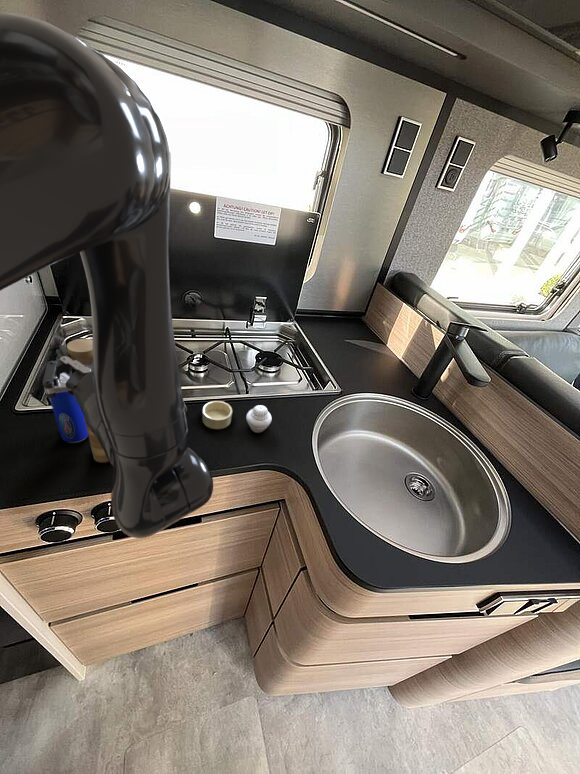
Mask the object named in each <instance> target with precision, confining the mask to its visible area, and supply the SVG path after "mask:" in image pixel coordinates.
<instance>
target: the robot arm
mask: <svg viewBox="0 0 580 774" xmlns="http://www.w3.org/2000/svg"><path fill="white" fill-rule="evenodd" d="M171 174H172V151H171V146H170V139H169V136H168V133H167V130H166V126H165V124H164V121H163V119H162V117H161V115H160V113H159V111H158V108H157V107H156V105H155V103H154V102H153V100H152V99H151V97H150V96H149V95H148V93H147V92H146V90H145V89H144V88H143V86H142V85H141V83H139V82H138V81H137V80H136V79H135V78H134V77H133V76H132V75H131V74H130V73H129V72H128V71H127V70H126V69H124V67H122V66H121V65H119V64H117V63H116V61H114V60H112V59H111V58H109V57H108V56H107V55H105V54H104V53H102V52H100V51H97V50H95V48H92V47H91V46H90V45H88V44H86V43H85V42H82V41H81V40H80V39H78V37H76V36H74V35H72V34H71V33H68V32H66V31H65V30H63V29H61V28H59V27H57V26H55V25H53V24H51V23H50V22H48V21H45V20H42V19H39V18H35V17H32V16H28V15H25V14H21V13H17V12H12V11H11V12H10V11H8V12H7V11H5V12H4V11H3V12H2V11H1V12H0V291H2V290H5V289H6V288H8V287H10V286H12V285H14V284H16V283H18V282H20V281H22V280H24V279H26V278H27V277H30V276H32V275H34V274H35V273H38V272H39V271H41V270H44V269H46V268H48V267H50V266H52V265H54V264H57V263H59V262H61V261H63V260H66V259H68V258H70V257H72V256H75V255H76V254H80V257H81V261H82V264H83V265H82V266H83V268H84V273H85V278H86V281H87V287H88V293H89V300H90V310H91V327H92V328H91V330H92V333H91V334H92V339H91V340H93V364H92V365H83V364H81V363H80V362H78V361H77V360H72V359H71V358H70V355H69V353H68V350H67V346H65V344H61V345H59V346H58V347H59V348H57V349H56V350H55V354H56V356H57V360H49V361H48V362H46V366H45V371H44V374H43V378H42V381H41V383H42V386H43V389H44V393H45V396H46V397H47V398H48V399H49V398H53V397H56V396H57V393H60V392H68V393H69V394H70V395H72V396H74V397H75V399H76V401H77V403H78V405H79V407H80V409H81V411H82V413H83V415H84V417H85V421H86V423H87V425H88V426H89V427H90V429H91V430H92V432H93V433H94V435H95V436H96V437H97V438H98V440H99V442H100V444H101V446H102V448H103V450H104V452H105V454H106V456H107V458H108V460H109V461H108V462H109V463H110V465H111V466H112V467H113V471H112V479H111V487H110V488H111V489H110V505H111V512H112V516H113V519H114V521H115V524H116V525H117V527H118V528H119V529H120V530H121V532H123V534H125V535H127V536H128V537H131V538H135V539H146V538H149V537H151V536H154V535H156V534H159V532H161V531H163V530H165V529H166V528H168V527H170V526H172V525H173V524H175V523H177V522H178V521H180V520H182V519H184V518H185V517H187V516H189V515H190V514H192V513H194V512H196V511H197V510H199V509H201V508H203V507H204V506H205V505H206V504H207V503H208V502H209V501H210V499H211V497H212V495H213V491H214V478H213V475H212V472H211V470H210V468H209V466H208V465H207V463H206V462H205V460H204V459H202V458H201V456H199V455H198V453H197V452H195V451H194V450H193V449H191V448H190V447H189V442H190V434H189V428H188V427H189V426H188V421H187V415H186V410H185V407H184V404H185V399H184V396H183V390H182V383H181V377H180V370H179V363H178V356H177V348H176V347H177V346H176V340H175V332H174V324H173V312H172V300H171V285H170V284H171V282H170V280H171V279H170V251H169V247H170V246H169V245H170V211H171V209H170V207H171V178H172V177H171V176H172V175H171ZM61 373H65V374H67V375H68V376H69V377H70V378H69V379H68V380H67V382H66V383H63V382H62V381H61V380H60V374H61Z"/></svg>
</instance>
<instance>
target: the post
mask: <svg viewBox="0 0 580 774" xmlns="http://www.w3.org/2000/svg"><path fill="white" fill-rule="evenodd" d="M66 349H67V351H68V353H69V355H70V358H71V359H72V360H77V361H78V362H80V363H81V364H83V365H92V364H93V339H91V338H76V339H73V340H71V341H69V342H68V343H67V344H66ZM83 416H84V415H83ZM84 420H85V417H84ZM85 424H86V428H87V433H88V436H87V438H88V440H89V445H90V448H91V452H92V457H93V459H94V461H95V462H97V463H103V464H104V463H108V462H109V460H108V458H107V456H106V454H105V452H104V450H103V448H102V446H101V444H100V442H99V440H98V438H97V437H96V436H95V435H94V433H93V432H92V430H91V429H90V427H89V426H88V425H87V423H86V421H85Z"/></svg>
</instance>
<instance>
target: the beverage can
mask: <svg viewBox="0 0 580 774" xmlns="http://www.w3.org/2000/svg"><path fill="white" fill-rule="evenodd" d="M69 378H70V377H69V376H68V375H67V374H65V373H61V374H60V380H61V381H62V382H63V383H66V382H67V380H68V379H69ZM48 399H49V402H50V405H51V408H52V411H53V414H54V418H55V421H56V424H57V427H58V430H59V434H60V437H61V439H62V441H64V442H66V443H70V444H76V443H80V442H82V441H84V440H86V439H87V438H88V433H87V428H86V424H85V420H84V416H83V413H82V411H81V409H80V407H79V405H78V403H77V401H76V399H75V397H74V396H72V395H70V394H69V393H68V392H60V393H57V396H56V397H53V398H48Z"/></svg>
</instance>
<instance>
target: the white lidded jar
mask: <svg viewBox="0 0 580 774" xmlns="http://www.w3.org/2000/svg"><path fill="white" fill-rule="evenodd" d="M245 417H246V422H247V424H248V426H249V428H250V430H251V431H252V432H254V433H258V434H259V433H262V432H264V431H265V430H266V429H267V428H268V427H269V426H270V424H271V423H272V420H273V419H272V418H273V417H272V415H271V413H270V412H269V411H268V408H267V406H265V405H262V404H260V405H259V404H257V405H255V406H254V407H253V408H251V409H249V410H248V412H247V413H246V416H245Z"/></svg>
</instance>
